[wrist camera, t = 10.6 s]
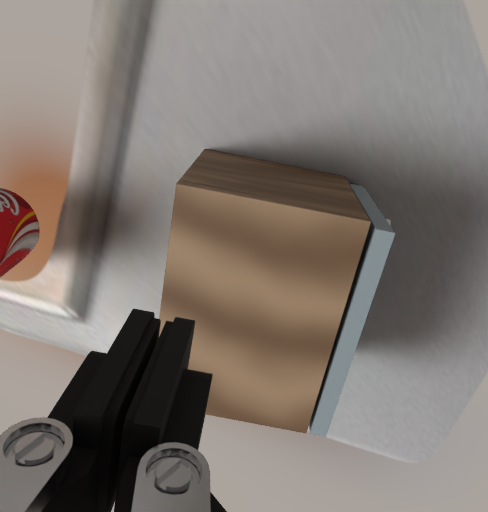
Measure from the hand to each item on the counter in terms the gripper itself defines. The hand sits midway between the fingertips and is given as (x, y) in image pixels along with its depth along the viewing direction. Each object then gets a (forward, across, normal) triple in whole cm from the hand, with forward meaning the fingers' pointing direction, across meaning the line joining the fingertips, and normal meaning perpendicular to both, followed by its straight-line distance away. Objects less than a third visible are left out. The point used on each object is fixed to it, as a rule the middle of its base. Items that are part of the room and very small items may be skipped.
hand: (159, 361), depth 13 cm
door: (+29, -10, +9) cm, 32 cm away
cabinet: (+29, -3, +8) cm, 30 cm away
